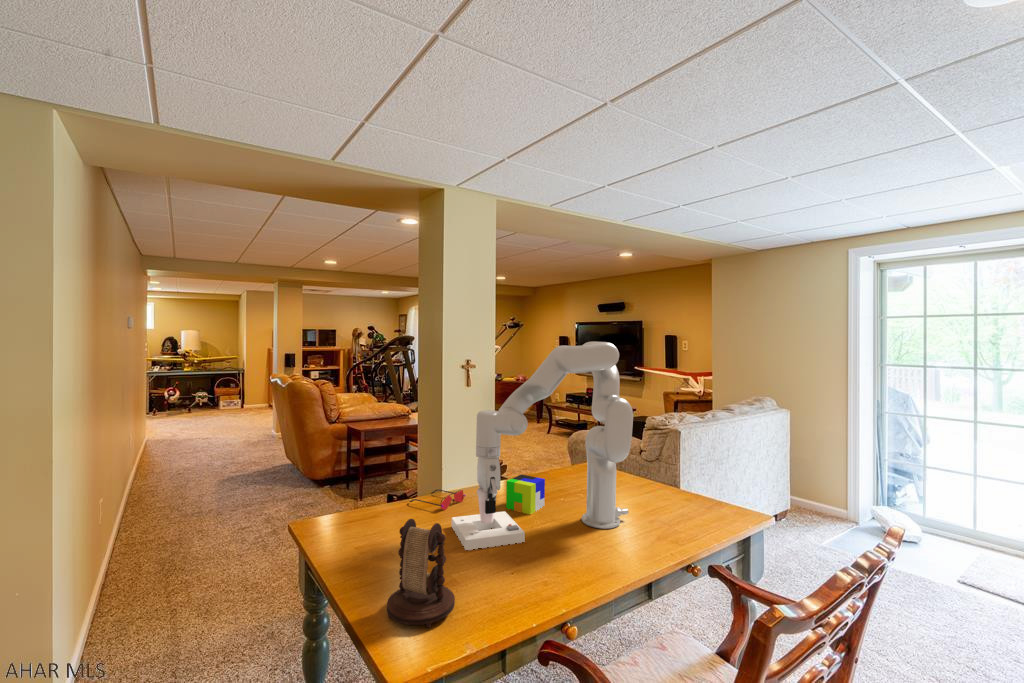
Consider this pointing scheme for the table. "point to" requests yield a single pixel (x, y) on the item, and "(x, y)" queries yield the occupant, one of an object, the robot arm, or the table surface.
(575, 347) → the robot arm
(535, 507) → the puzzle toy
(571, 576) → the table surface
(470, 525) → the socket plate
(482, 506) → the smoothie
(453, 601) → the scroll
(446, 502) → the glasses
